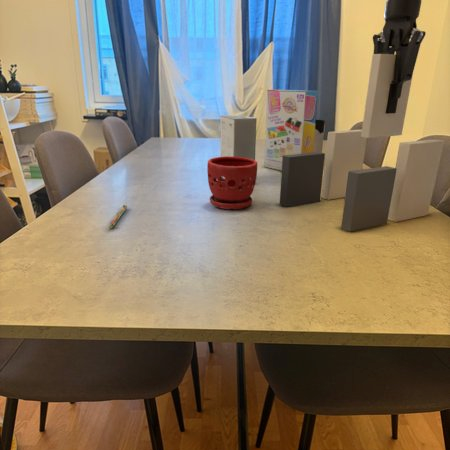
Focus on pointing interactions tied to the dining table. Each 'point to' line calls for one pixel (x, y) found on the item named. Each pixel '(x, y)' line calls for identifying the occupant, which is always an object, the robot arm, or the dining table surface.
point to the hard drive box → (238, 136)
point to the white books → (406, 167)
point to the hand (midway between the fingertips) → (385, 112)
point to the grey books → (355, 191)
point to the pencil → (117, 216)
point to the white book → (383, 100)
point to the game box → (289, 124)
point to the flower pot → (231, 181)
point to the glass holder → (319, 135)
